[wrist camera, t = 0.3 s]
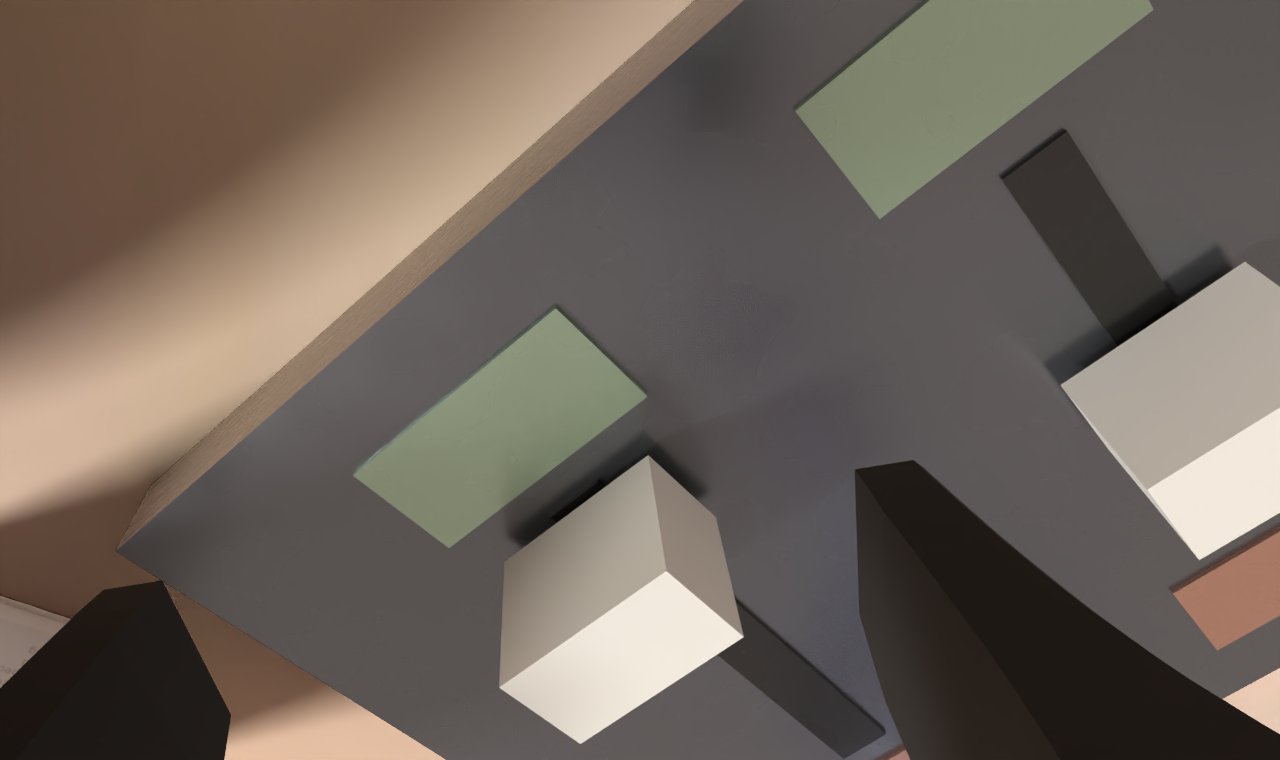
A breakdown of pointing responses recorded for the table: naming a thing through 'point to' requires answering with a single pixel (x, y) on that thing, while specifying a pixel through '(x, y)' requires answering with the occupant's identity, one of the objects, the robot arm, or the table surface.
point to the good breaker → (615, 603)
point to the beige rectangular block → (1197, 409)
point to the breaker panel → (763, 361)
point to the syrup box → (23, 634)
